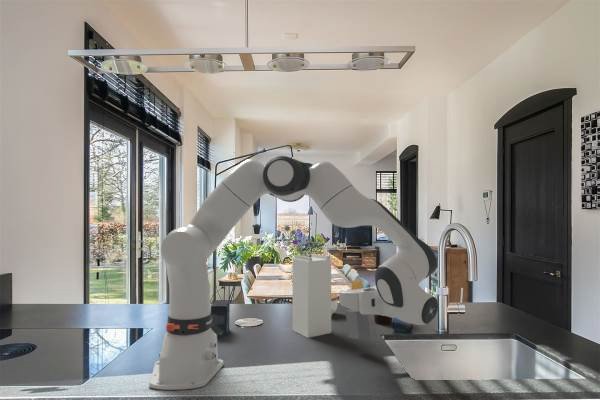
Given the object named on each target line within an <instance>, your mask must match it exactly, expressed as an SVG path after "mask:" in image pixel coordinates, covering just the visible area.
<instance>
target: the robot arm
mask: <svg viewBox="0 0 600 400" xmlns="http://www.w3.org/2000/svg"><path fill="white" fill-rule="evenodd" d="M266 194H267V195H268V194H269V195H270V196H272V197H274V198H277V199H278V200H281V201H283V202H288V203H293V202H297V201H299V200H301V199H302V198H303V197H304V196H308V197H310V198H311V199H312V200H313V201H314V202H315V204H316V205H317V206H318V209H319V210H320V211H321V213H322V214H323V215H324V216H325V218H326V219H327V220H328V221H329V222H330V223H331V224H333V225H334V226H336V227H339V228H346V229H348V228H349V229H350V228H357V227H363V226H371V227H375V228H376V229H378V230H379V231H381V232H382V233H383V234H384V235H385V236H386V237H387V238H388V239H389V240H390V241H391V242H392V243H393V244H394V245H395V246H396V247H397V248H398V251H397V252H396V253H394V255H393V256H390V258H388V259H386V260H385V261H384V262H382V264H380V265H379V267H377V268H376V269H375V272H374V282H375V285H374V286H371V287H370V286H369V287H363V288H362V289H355V290H354V289H352V288H349V289H347V290H342V291H340V292H339V295H338V300H339V301H338V303H339V305H341V306H343V307H345V308H348V309H349V310H357V311H360V313H361V314H364V315H368V316H369V315H370V316H371V315H373V316H374V315H375V314H376V315H382V316H384V315H385V316H388V317H391V318H392V319H394V318H396V319H397V320H398V321H401V322H405V323H408V324H413V325H417V326H419V325H420V326H425V325H428V324H430V323H432V321H433V320H434V319H435V318H436V316H437V314H438V311H439V301H438V299H437V298H436V296H434V295H433V294H430V293H428V292H427V291H425V289H423V288H422V287H421V286H420V283H421V282H422V281H424V280H425V279H427V278H428V277H430V276H431V275H433V274H434V272H436V271H437V268H438V267H437V266H438V265H437V264H438V262H437V257H436V256H437V255H436V253H435V251H434V250H433V248H432V247H431V246H430V245H429V244H428V243H426V242H424V241H423V240H422V239H420V238H419V237H417V236H416V235H415V234H414V233H413V232H412V231H411V230H410V229H409V228H408V227H407V226H406V225H405V224H404V223H403V222H402V221H401V220H400V219H398V218H397V216H395V215H394V213H392V212H391V210H389V209H388V208H387V207H386V206H385V205H384V204H382V203H381V202H380V201H379V200H376V199H373V198H369V197H367V196H366V195H364V194H362V193H361V192H360V191H359V190H358V189H356V187H355V186H354V185H353V183H352V182H351V181H350V180H349V179H348V177H347V176H346V175H344V173H343V172H342V171H340V170H339V169H338V168H337V167H336V166H335V165H334V164H333V163H331V162H330V161H324V160H323V161H319V162H317V163H315V164H313V165H312V166H310V167H309V165H308V164H307V163H305V162H302V161H301V160H298V159H295V158H293V157H289V156H286V155H279V156H275V157H272V158H271V159H269V160H268V161H267V162H266V164H265V165H264V164H262V163H261V162H260V161H258V160H256V159H251V158H249V159H245V160H243V161H242V162H241V163H239V164H238V165H237V166H236V167H234V168H233V169H232V170H231V171H230V172H229V173H228V174H227V175H226V176H225V177H224V178H223V179H222V180H221V181H220V182H219V184H218V185H217V186H215V188H214V189H213V190H212V191H211V192H210V194H209V195H208V196H207V197H206V198H205V199H204V200H203V201H202V203H201V205H200V207H199V208H198V210H197V212H196V213H195V215H194V216H193V217H192V219H190V221H189V222H188V223H187V224H186V225H184V226H180V227H177V228H175V229H173V230H171V231H170V232H168V234H167V235H166V237H165V238H164V239H163V240H162V243H161V247H160V252H161V257H162V258H163V260H164V264H165V268H166V269H165V271H166V274H167V279H168V286H169V287H168V288H169V301H168V302H169V305H168V306H169V308H168V309H169V315H167V321H166V326H165V327H166V328H165V330H166V333H165V334H163V341H162V346H161V350H160V352H159V353H158V355H159V356H158V357H159V360H157V361H155V363H154V366H153V370H152V373H151V376H150V379H149V384H148V386H149V388H151V389H155V390H162V391H163V390H167V391H175V390H177V391H178V390H179V391H180V390H189V389H190V390H191V389H198V388H202V387H204V386H206V385H208V383H210V381H211V379H212V378H214V377H215V375H216V374H217V373H218V372H219V371H220V370H221V369H222V367H223V366H224V360H223V359H221V358H218V356H219V355H218V353H219V352H218V336H217V334H215V333H214V332H213V330H212V329H211V326H212V314H211V284H210V281H209V275H208V268H207V260H208V259H209V258H210V257H211V256H212V255H213V254H214V252H215V251H216V250H217V248H218V247H219V246H220V245H221V244H222V242H223V241H224V240H225V238H226V237H227V236H228V234H230V232H231V230H233V228H234V227H235V226H236V225H237V224H238V223H239V221H241V219H242V218H243V217H244V216H245V215H246V213H248V211H249V210H250V209H251V208H252V207H253V206H254V205H255V204H256V202H257V201H258V200H259V199H260V198H261V197H262V196H264V195H266Z"/></svg>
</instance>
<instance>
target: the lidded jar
mask: <svg viewBox="0 0 600 400" xmlns="http://www.w3.org/2000/svg"><path fill="white" fill-rule="evenodd" d="M338 300H339V295H337V294H334V293H331V317H332V316H333V314H334V313H335V312H336V310H337V309H338V303H339V301H338Z"/></svg>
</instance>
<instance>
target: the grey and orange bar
mask: <svg viewBox="0 0 600 400" xmlns="http://www.w3.org/2000/svg"><path fill="white" fill-rule="evenodd" d="M350 284H351V289H354V290H355V289H362V288H364V286H363V280H362V279H359V280H351V281H350ZM345 317H346V325H347V327H346V328H347V329H346V330H347V337H348V338H350V339H355V340H363V339H367V338H370V337H371V332H370V322H369V315H364V314H361V313H360V311H357V310H353V309H349V310H345Z"/></svg>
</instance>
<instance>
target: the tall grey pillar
mask: <svg viewBox="0 0 600 400" xmlns="http://www.w3.org/2000/svg"><path fill="white" fill-rule="evenodd" d="M310 254H311V256H305V255H299V254H294V258H292V299H291V300H292V304H291V305H292V306H291V307H292V309H291V311H292V322H291V323H292V325H291V327H292V332H295V333H296V334H297V333H298V334H300V335H301V336H303V337H306V338H308V339H309V338H313V337H318V336H323V335H327V334H332V316H331V294H332V259H330V256H329V255H324V254H319V253H318V254H317V253H310Z"/></svg>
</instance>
